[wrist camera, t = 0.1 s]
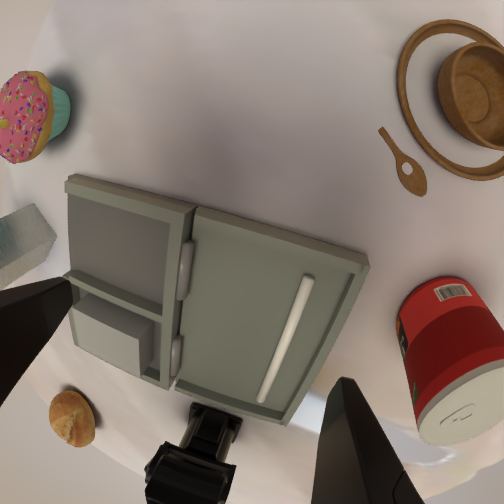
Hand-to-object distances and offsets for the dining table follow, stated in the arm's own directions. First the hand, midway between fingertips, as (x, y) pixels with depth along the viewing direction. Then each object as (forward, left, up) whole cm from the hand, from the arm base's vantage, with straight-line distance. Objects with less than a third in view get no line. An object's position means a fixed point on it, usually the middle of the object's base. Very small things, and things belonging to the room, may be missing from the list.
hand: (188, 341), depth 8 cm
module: (-9, +25, -15) cm, 30 cm away
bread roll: (-44, +24, -15) cm, 52 cm away
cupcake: (+4, +22, -15) cm, 27 cm away
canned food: (-4, -16, -15) cm, 22 cm away
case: (-11, +5, -15) cm, 19 cm away
